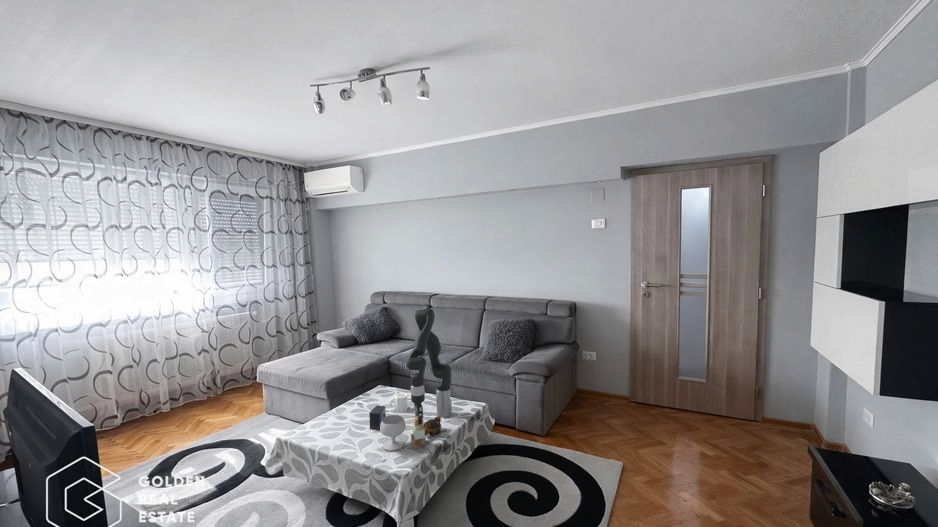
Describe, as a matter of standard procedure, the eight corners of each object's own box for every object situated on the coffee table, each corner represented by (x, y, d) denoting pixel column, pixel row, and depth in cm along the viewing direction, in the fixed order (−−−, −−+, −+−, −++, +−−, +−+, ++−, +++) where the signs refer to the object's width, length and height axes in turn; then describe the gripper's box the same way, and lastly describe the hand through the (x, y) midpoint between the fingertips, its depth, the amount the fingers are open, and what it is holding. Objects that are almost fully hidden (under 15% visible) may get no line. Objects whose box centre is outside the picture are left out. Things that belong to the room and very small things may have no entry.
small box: (379, 430, 233) (378, 413, 233) (369, 429, 235) (368, 412, 234) (386, 421, 244) (385, 405, 243) (376, 421, 245) (376, 405, 244)
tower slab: (423, 440, 221) (423, 432, 220) (425, 446, 214) (425, 438, 214) (411, 442, 219) (410, 434, 218) (413, 449, 212) (413, 440, 212)
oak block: (422, 425, 218) (421, 414, 218) (423, 429, 214) (423, 418, 213) (413, 426, 217) (413, 416, 216) (415, 430, 212) (414, 420, 212)
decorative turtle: (446, 428, 233) (445, 416, 232) (432, 442, 220) (431, 429, 219) (432, 424, 238) (432, 412, 237) (418, 437, 225) (417, 424, 224)
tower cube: (422, 433, 219) (422, 424, 219) (424, 438, 214) (424, 429, 213) (413, 435, 217) (412, 426, 217) (415, 439, 212) (414, 431, 212)
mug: (407, 406, 266) (406, 392, 265) (408, 411, 257) (407, 397, 256) (389, 408, 263) (388, 394, 262) (389, 413, 254) (389, 399, 254)
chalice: (411, 444, 216) (410, 418, 215) (391, 455, 206) (390, 428, 205) (396, 436, 226) (395, 411, 225) (375, 446, 215) (374, 420, 214)
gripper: (427, 396, 208) (428, 425, 209) (421, 386, 222) (422, 414, 223) (413, 398, 206) (414, 428, 207) (408, 388, 219) (410, 416, 221)
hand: (418, 420), depth 215 cm, fingers open, 8 cm apart
